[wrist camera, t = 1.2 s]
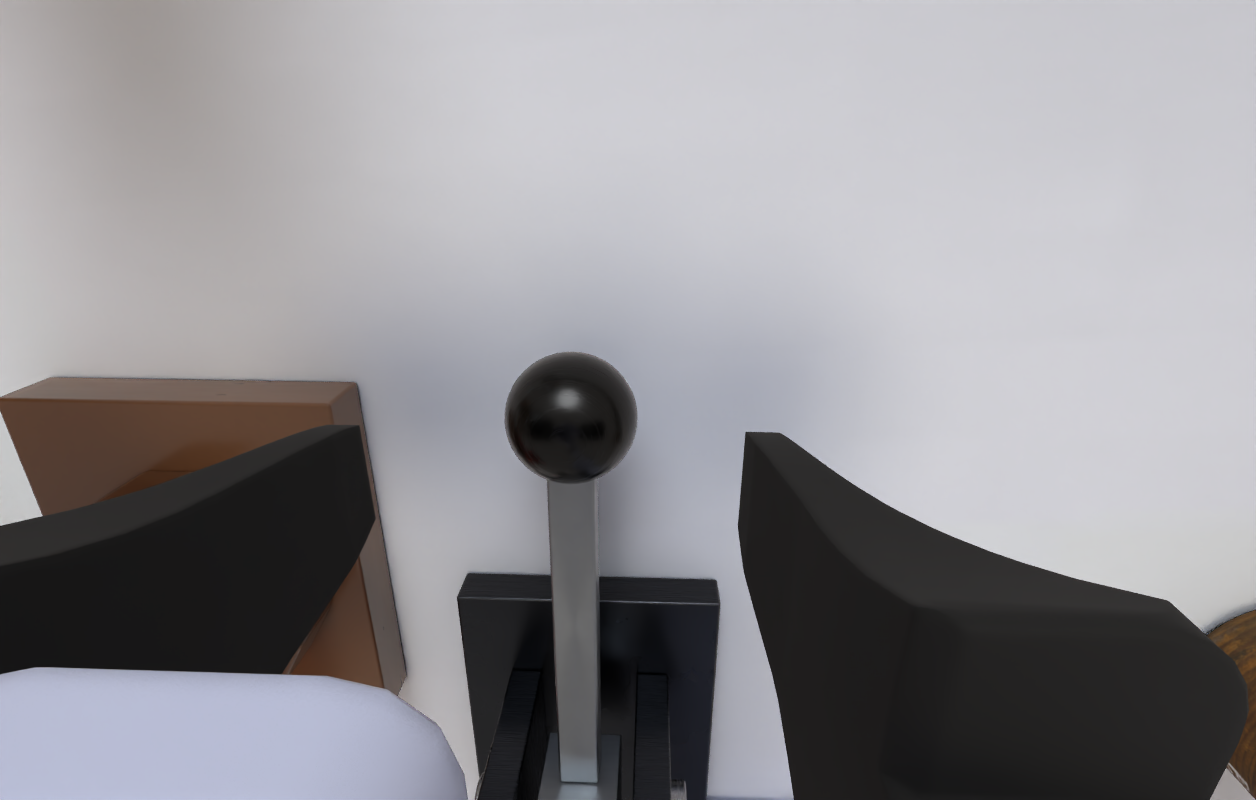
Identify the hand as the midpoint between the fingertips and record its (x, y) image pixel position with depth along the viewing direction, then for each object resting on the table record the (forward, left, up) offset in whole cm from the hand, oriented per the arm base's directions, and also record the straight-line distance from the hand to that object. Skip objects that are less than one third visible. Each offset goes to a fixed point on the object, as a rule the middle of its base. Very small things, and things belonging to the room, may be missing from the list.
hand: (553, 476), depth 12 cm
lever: (-6, 0, -4) cm, 7 cm away
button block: (-6, +11, -6) cm, 14 cm away
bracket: (-12, 0, -6) cm, 13 cm away
